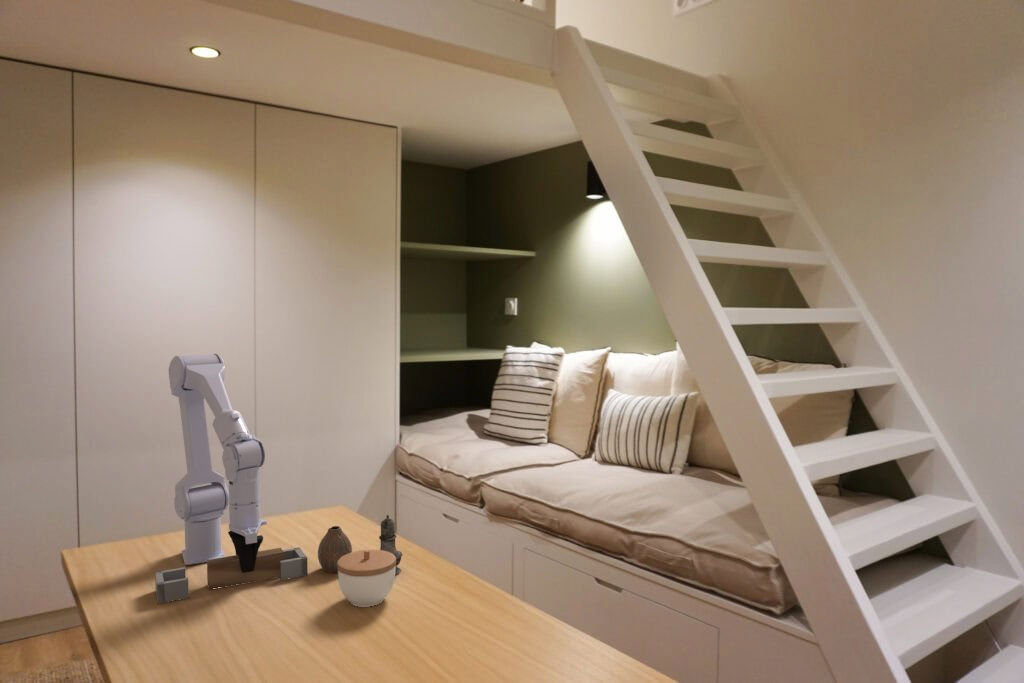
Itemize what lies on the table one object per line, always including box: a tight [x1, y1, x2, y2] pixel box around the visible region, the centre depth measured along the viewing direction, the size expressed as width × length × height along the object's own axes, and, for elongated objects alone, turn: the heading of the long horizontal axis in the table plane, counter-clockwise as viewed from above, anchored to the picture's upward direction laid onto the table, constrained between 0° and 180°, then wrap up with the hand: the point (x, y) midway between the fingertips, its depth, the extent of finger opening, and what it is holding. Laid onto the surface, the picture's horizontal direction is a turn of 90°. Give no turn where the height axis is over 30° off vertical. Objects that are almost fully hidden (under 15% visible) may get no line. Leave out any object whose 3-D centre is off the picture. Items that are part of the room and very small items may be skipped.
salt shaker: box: [378, 514, 403, 576], centre depth 143 cm, size 6×6×12 cm
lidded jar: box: [337, 549, 396, 608], centre depth 129 cm, size 11×11×9 cm
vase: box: [317, 525, 353, 574], centre depth 144 cm, size 7×7×9 cm
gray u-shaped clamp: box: [154, 566, 190, 605], centre depth 132 cm, size 7×5×4 cm
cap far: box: [279, 546, 309, 581], centre depth 143 cm, size 7×5×4 cm
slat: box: [206, 547, 284, 590], centre depth 139 cm, size 3×14×5 cm, turn 120°
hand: (246, 568), depth 139 cm, fingers closed on slat, 3 cm apart
